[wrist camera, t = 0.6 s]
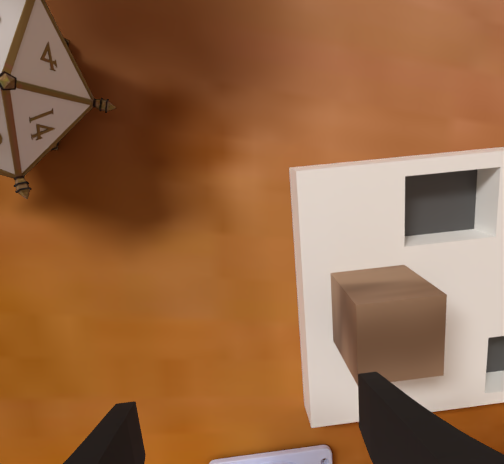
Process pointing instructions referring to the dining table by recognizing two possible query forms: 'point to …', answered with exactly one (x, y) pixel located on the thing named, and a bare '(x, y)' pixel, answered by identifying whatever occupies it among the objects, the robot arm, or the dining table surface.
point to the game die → (36, 88)
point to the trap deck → (411, 255)
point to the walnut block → (389, 323)
